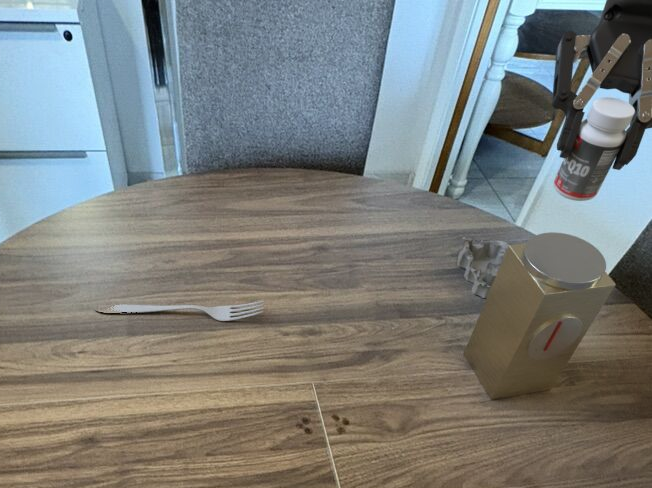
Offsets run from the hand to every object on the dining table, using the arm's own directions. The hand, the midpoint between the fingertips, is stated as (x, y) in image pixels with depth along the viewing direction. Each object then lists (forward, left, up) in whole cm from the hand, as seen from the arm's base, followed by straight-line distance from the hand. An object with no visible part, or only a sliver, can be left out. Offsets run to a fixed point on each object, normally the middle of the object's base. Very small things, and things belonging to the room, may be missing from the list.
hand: (592, 160), depth 62 cm
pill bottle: (-1, -2, -4) cm, 5 cm away
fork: (+41, -18, -28) cm, 53 cm away
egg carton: (-7, -17, -28) cm, 34 cm away
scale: (-1, +2, -28) cm, 28 cm away
